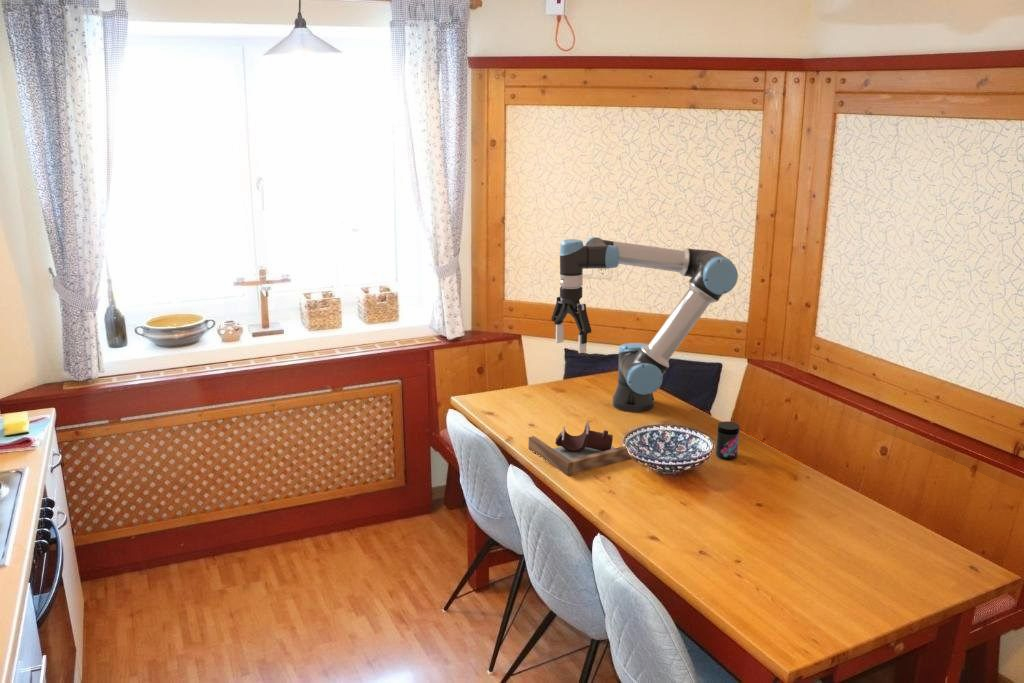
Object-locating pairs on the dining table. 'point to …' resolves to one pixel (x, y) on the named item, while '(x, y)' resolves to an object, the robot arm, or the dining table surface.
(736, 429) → the supplement container
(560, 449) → the mat
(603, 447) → the bracket
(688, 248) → the robot arm
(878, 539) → the dining table surface
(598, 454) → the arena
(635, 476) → the dining table surface
